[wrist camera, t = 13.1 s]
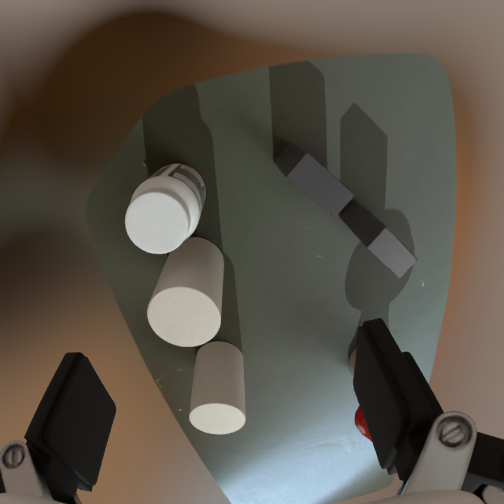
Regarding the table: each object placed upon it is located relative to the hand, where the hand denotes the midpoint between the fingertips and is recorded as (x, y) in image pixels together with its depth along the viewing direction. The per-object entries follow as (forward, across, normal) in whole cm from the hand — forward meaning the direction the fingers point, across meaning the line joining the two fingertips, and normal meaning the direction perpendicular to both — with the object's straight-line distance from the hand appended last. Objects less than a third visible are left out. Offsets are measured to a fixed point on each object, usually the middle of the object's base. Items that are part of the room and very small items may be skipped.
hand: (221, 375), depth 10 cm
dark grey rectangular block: (+23, -13, +5) cm, 27 cm away
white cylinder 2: (+23, +5, +21) cm, 32 cm away
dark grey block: (+23, -7, -2) cm, 24 cm away
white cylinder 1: (+23, +5, +7) cm, 25 cm away
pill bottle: (+24, +5, -1) cm, 24 cm away
